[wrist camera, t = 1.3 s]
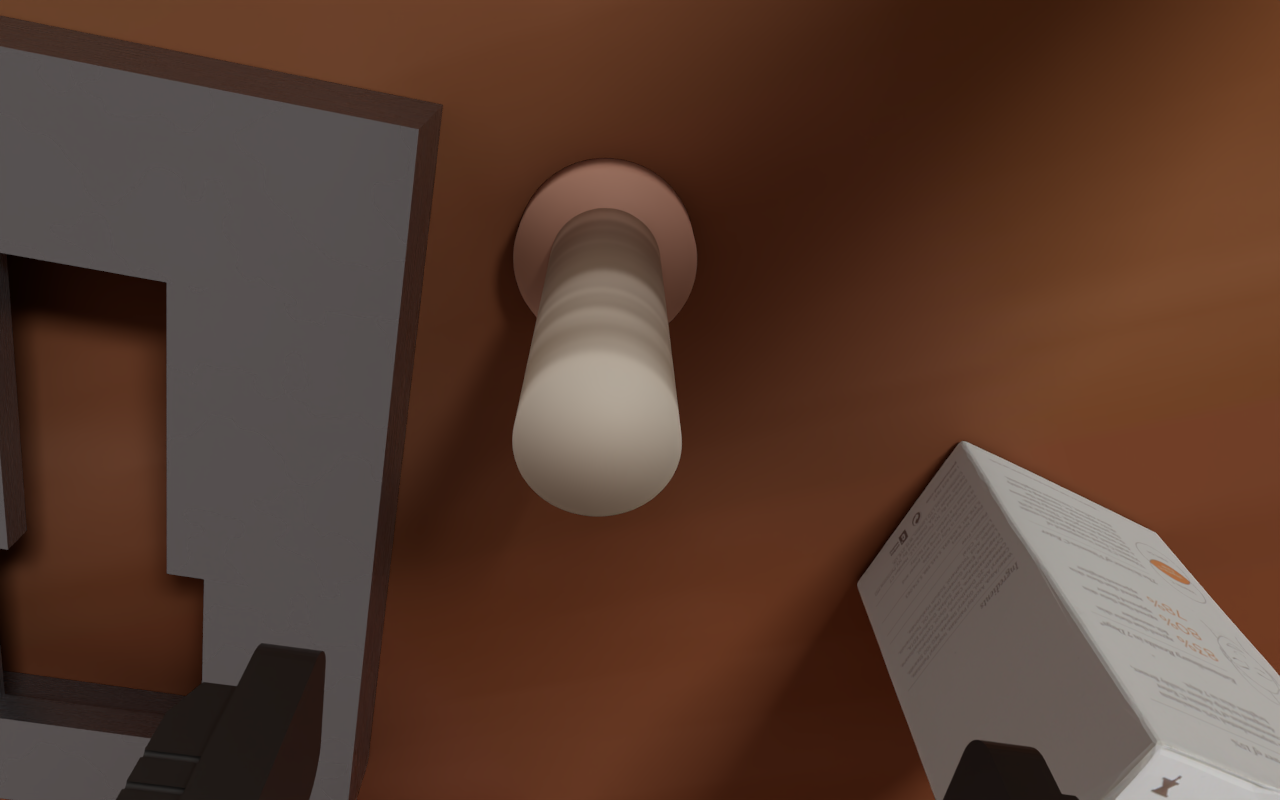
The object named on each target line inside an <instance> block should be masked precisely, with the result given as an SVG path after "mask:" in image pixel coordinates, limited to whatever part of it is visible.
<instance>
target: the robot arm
mask: <svg viewBox="0 0 1280 800" xmlns="http://www.w3.org/2000/svg"><path fill="white" fill-rule="evenodd" d="M325 669H326V656H325V652H324V651H319V650H311V649H304V648H296V647H289V646H281V645H273V644H266V643H261V644H260V645H259V646H258V647H257V648H256V650H255V651H254V653H253V655H252V657H251V659H250V661H249V663H248V665H247V667H246V669H245V671H244V673H243V675H242V677H241V679H240V681H239V683H238V685H237V686H231V685H224V684H216V683H208V682H203V683H202V684H200V685H199V686H198V687H197V688H195V689H194V690H193V691H192V692H190V693H189V694H188V695H187V696H185V697H184V698H183V699H182V700H180V701H179V702H178V703H177V704H176V705H174V706H173V707H172V708H171V709H169V710H168V711H167V712H166V713H165V715H164V717H163V719H162V720H161V722H160V724H159V725H158V727H157V729H156V731H155V732H154V734H153V736H152V738H151V739H150V741H149V743H148V745H147V746H146V748H145V751H144V755H143V757H140V758H139V760H138V762H137V764H136V765H135V767H134V769H133V771H132V772H131V774H130V776H129V778H128V779H127V782H126V786H125V789H122V790H121V791H120V793H119V795H118V797H117V798H116V800H309V799H310V796H311V792H312V789H313V785H314V781H315V777H316V772H317V767H318V762H319V756H320V748H321V735H322V718H323V702H324V685H325ZM943 800H1079V799H1078V798H1077V797H1076V796H1074V795H1066V794H1062V793H1061V791H1060V789H1059V787H1058V785H1057V783H1056V781H1055V779H1054V777H1053V775H1052V773H1051V771H1050V769H1049V767H1048V765H1047V763H1046V761H1045V759H1044V758H1043V756H1042V754H1041V753H1040V752H1039V751H1038V750H1037V749H1035V748H1033V747H1030V746H1022V745H1014V744H1007V743H999V742H992V741H984V740H973V741H971V742H970V743H969V744H968V745H967V746H966V748H965V750H964V752H963V754H962V757H961V759H960V761H959V764H958V766H957V768H956V770H955V773H954V775H953V777H952V780H951V782H950V784H949V787H948V789H947V791H946V794H945V796H944V798H943Z"/></svg>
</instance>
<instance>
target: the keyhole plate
mask: <svg viewBox="0 0 1280 800" xmlns="http://www.w3.org/2000/svg"><path fill="white" fill-rule="evenodd" d="M442 108H443V105H441V104H436V103H431V102H426V101H421V100H416V99H411V98H406V97H401V96H396V95H391V94H386V93H381V92H376V91H372V90H367V89H362V88H357V87H352V86H347V85H342V84H337V83H332V82H327V81H322V80H317V79H312V78H307V77H302V76H297V75H292V74H287V73H282V72H277V71H272V70H267V69H262V68H257V67H252V66H247V65H242V64H237V63H232V62H228V61H223V60H218V59H213V58H208V57H203V56H198V55H193V54H188V53H183V52H178V51H173V50H168V49H163V48H158V47H153V46H148V45H143V44H138V43H133V42H128V41H123V40H118V39H113V38H108V37H103V36H98V35H93V34H88V33H84V32H79V31H74V30H69V29H64V28H59V27H54V26H49V25H44V24H39V23H34V22H29V21H24V20H19V19H14V18H9V17H4V16H0V549H6V550H8V549H9V548H10V547H11V546H12V545H13V544H14V543H15V542H16V541H17V540H18V539H19V538H20V537H21V536H22V535H23V534H24V533H25V532H26V531H27V526H26V512H25V498H24V484H23V470H22V456H21V442H20V428H19V415H18V401H17V387H16V373H15V359H14V345H13V331H12V317H11V303H10V289H9V275H8V262H7V254H10V255H16V256H21V257H27V258H33V259H38V260H44V261H49V262H55V263H61V264H66V265H72V266H77V267H83V268H89V269H94V270H100V271H105V272H111V273H117V274H122V275H128V276H133V277H139V278H145V279H150V280H156V281H161V282H167V574H172V575H179V576H186V577H192V578H199V579H204V609H203V664H202V683H203V682H208V683H216V684H224V685H231V686H237V685H238V683H239V681H240V679H241V677H242V675H243V673H244V671H245V669H246V667H247V665H248V663H249V661H250V659H251V657H252V655H253V653H254V651H255V650H256V648H257V647H258V646H259V645H260V644H261V643H266V644H273V645H281V646H289V647H296V648H304V649H311V650H319V651H324V652H325V656H326V669H325V685H324V702H323V718H322V735H321V748H320V756H319V762H318V767H317V772H316V777H315V781H314V785H313V789H312V792H311V796H310V799H309V800H357V797H358V794H359V790H360V787H361V784H362V780H363V777H364V774H365V770H366V767H367V764H368V757H369V748H370V739H371V731H372V722H373V713H374V704H375V696H376V687H377V678H378V669H379V661H380V652H381V643H382V634H383V625H384V617H385V608H386V599H387V590H388V582H389V573H390V564H391V555H392V547H393V538H394V529H395V520H396V512H397V503H398V494H399V485H400V477H401V468H402V459H403V450H404V441H405V433H406V424H407V415H408V406H409V398H410V389H411V380H412V371H413V363H414V354H415V345H416V336H417V328H418V319H419V310H420V301H421V293H422V284H423V275H424V266H425V257H426V249H427V240H428V231H429V222H430V214H431V205H432V196H433V187H434V179H435V170H436V161H437V152H438V144H439V135H440V126H441V117H442ZM184 697H185V696H182V695H175V694H167V693H160V692H153V691H146V690H139V689H131V688H124V687H117V686H110V685H102V684H95V683H88V682H81V681H74V680H66V679H59V678H52V677H45V676H37V675H30V674H23V673H16V672H9V671H3V669H2V658H1V647H0V798H3V799H11V800H116V798H117V797H118V795H119V793H120V791H121V790H122V789H125V786H126V782H127V779H128V778H129V776H130V774H131V772H132V771H133V769H134V767H135V765H136V764H137V762H138V760H139V758H140V757H143V755H144V751H145V748H146V746H147V745H148V743H149V741H150V739H151V738H152V736H153V734H154V732H155V731H156V729H157V727H158V725H159V724H160V722H161V720H162V719H163V717H164V715H165V713H166V712H167V711H168V710H169V709H171V708H172V707H173V706H174V705H176V704H177V703H178V702H179V701H180V700H182V699H183V698H184Z"/></svg>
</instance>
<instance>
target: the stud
mask: <svg viewBox="0 0 1280 800" xmlns="http://www.w3.org/2000/svg"><path fill="white" fill-rule="evenodd" d="M513 264H514V272H515V277H516V281H517V284H518V287H519V290H520V293H521V295H522V297H523V299H524V301H525V302H526V304H527V305H528V307H529V308H530V310H531V311H532V312H533V313H534V315H535V316H536V317H537V320H536V324H535V329H534V334H533V338H532V343H531V348H530V353H529V357H528V362H527V367H526V372H525V376H524V381H523V386H522V390H521V395H520V400H519V405H518V409H517V414H516V419H515V423H514V428H513V437H512V444H513V453H514V458H515V461H516V464H517V467H518V469H519V471H520V473H521V475H522V477H523V478H524V480H525V481H526V482H527V484H528V485H529V486H530V487H531V488H532V489H533V490H534V492H535V493H537V494H538V495H539V496H540V497H541V498H543V499H544V500H545V501H547V502H549V503H550V504H552V505H554V506H556V507H558V508H560V509H562V510H565V511H568V512H571V513H575V514H579V515H585V516H611V515H617V514H621V513H625V512H628V511H631V510H633V509H636V508H638V507H640V506H642V505H644V504H645V503H647V502H648V501H650V500H651V499H653V498H654V497H655V496H656V495H657V494H659V493H660V492H661V491H662V490H663V489H664V487H665V486H666V485H667V484H668V482H669V481H670V479H671V478H672V477H673V475H674V473H675V471H676V469H677V466H678V463H679V460H680V455H681V450H682V435H681V427H680V419H679V410H678V402H677V393H676V385H675V377H674V368H673V360H672V351H671V343H670V335H669V326H668V323H670V322H671V321H672V320H673V319H674V318H675V316H676V315H677V314H678V313H679V312H680V310H681V309H682V307H683V306H684V304H685V303H686V301H687V299H688V297H689V295H690V293H691V290H692V287H693V284H694V281H695V276H696V270H697V249H696V243H695V238H694V234H693V230H692V226H691V222H690V218H689V215H688V213H687V210H686V208H685V206H684V204H683V203H682V201H681V199H680V197H679V196H678V195H677V193H676V192H675V191H674V189H673V188H672V187H671V186H670V185H669V184H668V183H667V182H666V181H665V180H664V179H662V178H661V177H660V176H658V175H657V174H656V173H654V172H652V171H651V170H649V169H647V168H646V167H643V166H641V165H638V164H636V163H633V162H629V161H626V160H621V159H614V158H597V159H589V160H585V161H581V162H577V163H574V164H572V165H570V166H567V167H565V168H563V169H561V170H560V171H558V172H556V173H555V174H553V175H552V176H551V177H550V178H548V179H547V180H546V181H545V182H544V183H543V184H542V185H541V186H540V187H539V188H538V189H537V191H536V192H535V193H534V195H533V196H532V197H531V199H530V201H529V203H528V205H527V206H526V208H525V211H524V214H523V216H522V219H521V222H520V225H519V228H518V231H517V234H516V239H515V243H514V252H513Z"/></svg>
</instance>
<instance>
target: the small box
mask: <svg viewBox="0 0 1280 800" xmlns="http://www.w3.org/2000/svg"><path fill="white" fill-rule="evenodd" d="M857 587H858V590H859V593H860V596H861V598H862V601H863V604H864V607H865V609H866V612H867V615H868V618H869V620H870V623H871V625H872V628H873V631H874V634H875V637H876V639H877V642H878V645H879V647H880V650H881V653H882V656H883V658H884V661H885V664H886V667H887V670H888V672H889V675H890V678H891V680H892V683H893V686H894V689H895V691H896V694H897V697H898V699H899V702H900V705H901V708H902V710H903V713H904V716H905V718H906V721H907V723H908V726H909V729H910V732H911V735H912V737H913V740H914V743H915V746H916V749H917V751H918V754H919V757H920V759H921V762H922V765H923V767H924V770H925V773H926V775H927V778H928V781H929V784H930V786H931V789H932V792H933V794H934V797H935V800H943V798H944V796H945V794H946V791H947V789H948V787H949V784H950V782H951V780H952V777H953V775H954V773H955V770H956V768H957V766H958V764H959V761H960V759H961V757H962V754H963V752H964V750H965V748H966V746H967V745H968V744H969V743H970V742H971V741H973V740H984V741H992V742H999V743H1007V744H1014V745H1022V746H1030V747H1033V748H1035V749H1037V750H1038V751H1039V752H1040V753H1041V754H1042V756H1043V758H1044V759H1045V761H1046V763H1047V765H1048V767H1049V769H1050V771H1051V773H1052V775H1053V777H1054V779H1055V781H1056V783H1057V785H1058V787H1059V789H1060V791H1061V793H1062V794H1066V795H1074V796H1076V797H1077V798H1078V799H1079V800H1280V676H1279V675H1278V674H1277V672H1276V671H1275V670H1274V669H1273V668H1272V667H1271V665H1270V664H1269V663H1268V662H1267V661H1266V660H1265V658H1264V657H1263V656H1262V655H1261V654H1260V653H1259V652H1258V651H1257V649H1256V648H1255V647H1254V646H1253V645H1252V644H1251V643H1250V642H1249V640H1248V639H1247V638H1246V637H1245V636H1244V635H1243V634H1242V633H1241V631H1240V630H1239V629H1238V628H1237V627H1236V626H1235V624H1234V623H1233V622H1232V621H1231V620H1230V619H1229V618H1228V616H1227V615H1226V614H1225V613H1224V612H1223V611H1222V610H1221V608H1220V607H1219V606H1218V605H1217V604H1216V603H1215V602H1214V600H1213V599H1212V598H1211V597H1210V596H1209V594H1208V593H1207V592H1206V591H1205V590H1204V589H1203V587H1202V586H1201V585H1200V584H1199V583H1198V582H1197V580H1196V579H1195V578H1194V577H1193V576H1192V575H1191V573H1190V572H1189V571H1188V570H1187V569H1186V568H1185V566H1184V565H1183V564H1182V563H1181V562H1180V561H1179V559H1178V558H1177V557H1176V556H1175V555H1174V554H1173V552H1172V551H1171V550H1170V549H1169V548H1168V547H1167V545H1166V544H1165V543H1164V542H1163V541H1162V539H1161V538H1160V537H1159V536H1158V535H1157V533H1155V532H1153V531H1151V530H1149V529H1147V528H1145V527H1143V526H1141V525H1139V524H1137V523H1135V522H1133V521H1131V520H1129V519H1127V518H1125V517H1123V516H1121V515H1119V514H1117V513H1115V512H1113V511H1110V510H1108V509H1106V508H1104V507H1102V506H1100V505H1098V504H1096V503H1094V502H1092V501H1090V500H1088V499H1086V498H1084V497H1082V496H1080V495H1077V494H1075V493H1073V492H1071V491H1069V490H1067V489H1065V488H1063V487H1061V486H1059V485H1057V484H1055V483H1053V482H1050V481H1048V480H1046V479H1044V478H1042V477H1040V476H1038V475H1036V474H1034V473H1032V472H1030V471H1028V470H1026V469H1023V468H1021V467H1019V466H1017V465H1015V464H1013V463H1011V462H1009V461H1007V460H1005V459H1002V458H1000V457H998V456H996V455H994V454H992V453H989V452H987V451H985V450H983V449H981V448H979V447H977V446H975V445H972V444H970V443H968V442H965V441H961V442H960V443H959V444H958V445H957V446H956V447H955V449H954V450H953V452H952V453H951V454H950V456H949V457H948V458H947V459H946V461H945V462H944V464H943V465H942V466H941V468H940V469H939V471H938V472H937V473H936V475H935V476H934V477H933V479H932V480H931V481H930V483H929V484H928V486H927V487H926V488H925V490H924V491H923V493H922V494H921V495H920V497H919V498H918V499H917V501H916V502H915V503H914V505H913V506H912V508H911V509H910V510H909V512H908V513H907V515H906V516H905V517H904V519H903V520H902V521H901V523H900V524H899V526H898V527H897V528H896V530H895V531H894V533H893V534H892V535H891V537H890V538H889V539H888V541H887V542H886V543H885V545H884V546H883V548H882V549H881V551H880V552H879V553H878V555H877V556H876V558H875V559H874V560H873V562H872V563H871V565H870V566H869V567H868V569H867V570H866V571H865V573H864V574H863V575H862V577H861V578H860V580H859V581H858V583H857Z"/></svg>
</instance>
